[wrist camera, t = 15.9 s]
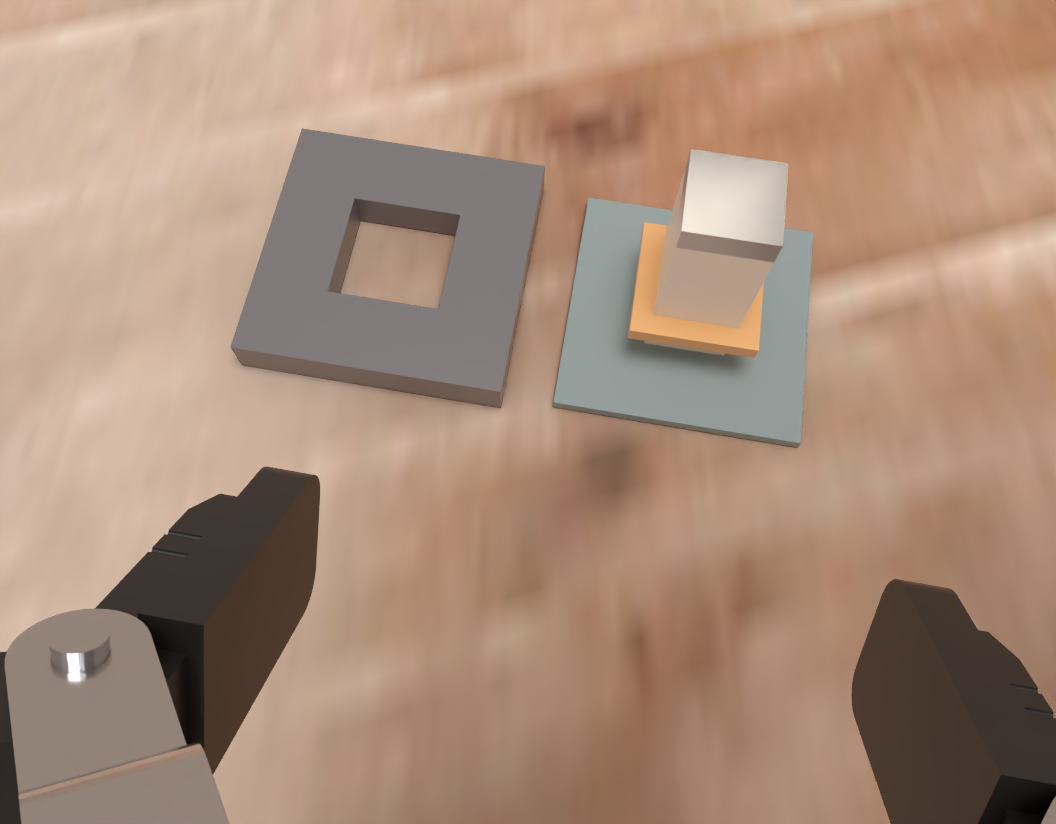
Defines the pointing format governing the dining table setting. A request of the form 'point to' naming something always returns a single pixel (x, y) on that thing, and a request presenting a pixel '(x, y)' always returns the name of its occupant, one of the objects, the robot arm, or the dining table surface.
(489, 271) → the socket box
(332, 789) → the dining table surface
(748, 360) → the mat
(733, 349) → the plug
